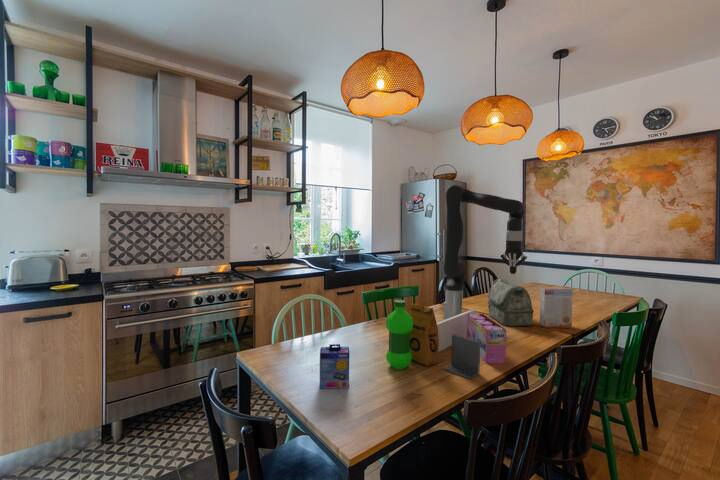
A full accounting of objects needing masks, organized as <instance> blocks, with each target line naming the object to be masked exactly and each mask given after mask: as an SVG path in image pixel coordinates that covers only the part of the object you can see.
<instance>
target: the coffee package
mask: <svg viewBox="0 0 720 480" xmlns="http://www.w3.org/2000/svg"><path fill="white" fill-rule="evenodd" d="M408 314H409V315H410V316H411V317H412V318H413V328H412V331H411V332H410V351H411V353H412V360H413V361H415V362H417V363H418V364H420V365H424V366H425V367H430V366H433V365H436V364H438V363H439V352H438V349H439V339H438V326H437V323H438V321H437V319H436V316H435V312H434V309H433V307H430V306H426V305H421V304H418V303H413V302H412V303H411V304H410V311H409V313H408Z"/></svg>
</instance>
